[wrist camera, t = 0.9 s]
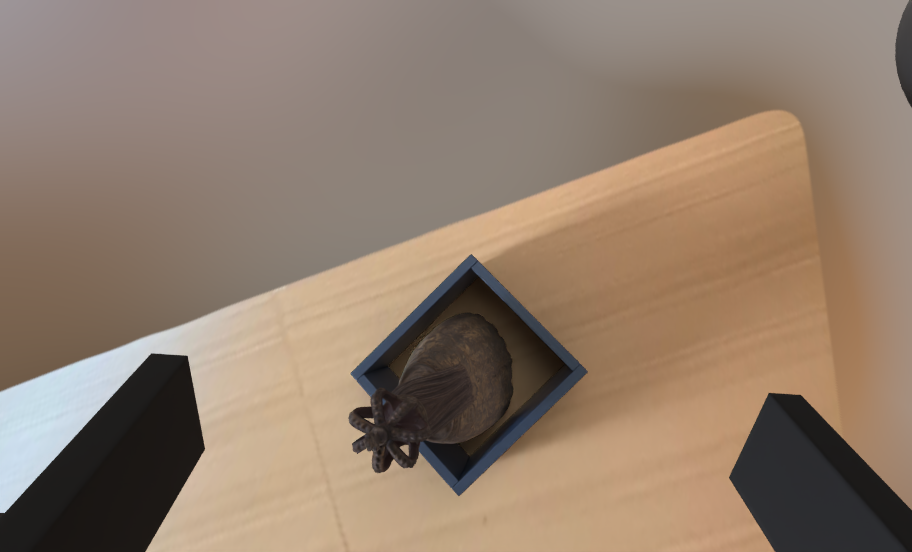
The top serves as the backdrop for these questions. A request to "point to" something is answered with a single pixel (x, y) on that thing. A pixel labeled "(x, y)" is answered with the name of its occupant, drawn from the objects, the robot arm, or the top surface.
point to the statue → (439, 393)
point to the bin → (467, 469)
